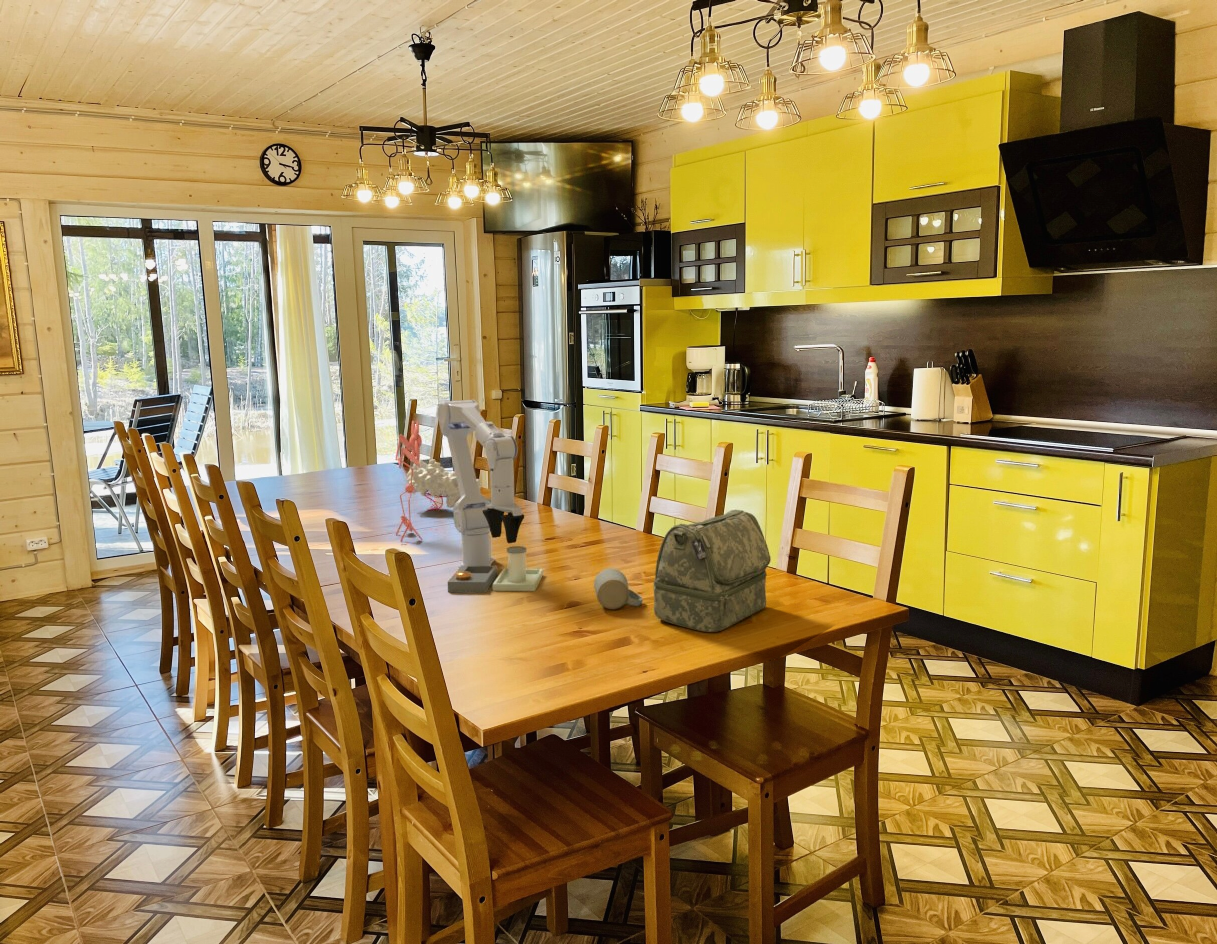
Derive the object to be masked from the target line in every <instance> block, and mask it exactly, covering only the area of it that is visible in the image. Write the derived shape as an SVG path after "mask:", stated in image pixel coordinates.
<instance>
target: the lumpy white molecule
mask: <svg viewBox="0 0 1217 944" xmlns="http://www.w3.org/2000/svg"><path fill="white" fill-rule="evenodd" d="M428 462H429V464H428V463H427V462H424V460H422V459H419V464H420V466H421V467H419V466H417V465H416V464H414V463H413V465H412V467H413V468H412V469H414V470H413V477H412V485H413V486H414V491H413V492H412V494H411V495H415V494H416V493H419V494H420V496H422V497H423V496H424V497H425V498H427V499H429V500H430V501H431V502H433V503H434V504H433V503H432V504H431V505H432V506H430V508H429V509H426V511H429V512H430V511H431V510H432V511H437V510H440V509H441V508H442V507H443V505H444V500H443V498H446V499H445V503H446V507H447V508H450V509H451V508H452V509H453V507H454V505H455V503H456V502H457V501H458V500H459V499H460V498H461V495H460V491H459V486H458V482H457V478H456V474H455V469H454V470H452V471H450V472H449V471H446V469H445V468H444V467H443V466H441V465H442V464H441V462H437V461H436V459H433V458H432V459H430V460H429V461H428ZM412 469H411V468H409V471H408V472H407V473H406V478H407V479H406V482H407V484H408V485H409V484H411V472H412ZM476 480H477V484H478V488H479V493H480V494H482V493H481V488H482V484H481V480H480V479H479V478H476ZM431 497H434V498H436V499H437V498H441V502H438V501H436V500H434V499H432V498H431ZM438 504H440V506H438ZM433 507H434V508H433ZM431 508H433V509H431Z"/></svg>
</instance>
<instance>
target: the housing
mask: <svg viewBox="0 0 1217 944" xmlns="http://www.w3.org/2000/svg"><path fill="white" fill-rule="evenodd" d="M461 571H468V572H471V578H468V580H459V579H457V578H456V573H457V572H461ZM496 576H497V577H498V566H497V565H490V566H465V565H462V566H461V567H460V568H458V569H457V571H456V572H455V573H453V575H452V576H451V578H449V580H448V581H447V592H448V593H486V592H487V591H488V590H487V589H489V588H490V587H489V586H492V585H493V583H494V582H495V580H496V579H497V577H496Z"/></svg>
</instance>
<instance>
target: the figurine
mask: <svg viewBox="0 0 1217 944" xmlns="http://www.w3.org/2000/svg"><path fill="white" fill-rule="evenodd" d="M410 428H411V429H410V434H411V436H410V438H409V440H408V439H407V438H406V437H405V436H404V435H403V434H402V433H401V434H399V436H398V437H399V439H398V443H397V450H396V454H395V461H398V468H399V469H402V464H403V465H405V466H406V467H408V468H409V469H410V468H411V469H412V468H413V466H411V465H409V464H408V463H406V462H405V461H403V457H404V456H406V458H407V459H408V460H410V461H411V462H412V463H413V464H416V465H417V466H419V467H421V466H420V464H419V460H421V459H420V457H421V453H420V452H421V451H420V448H421V446H422V442H423V439H422V436H421V435H420V423H419V421H417V422H416V423H415V421H414V420H412V421H411V427H410ZM401 444H403V446H402V447H401ZM400 450H401V452H400ZM399 452H400V457H399V458H398V456H399ZM413 470H414V469H412V472H411V484H409V483H408V484H407V485H406V486H405V487H404V492H402V493H401V494H399V499H400V504H401V508H402V515H401V516H400V519H401V522H400V524H399V525H398V528H397V531H396V533H395V535H396V536H398V534H399V532H400V529H401V528H402V526H403V525H404V526H405V530H404V532H403V534H402V536H401V538H400V540H399V541H400V542H403V540H404V538H405V536H406V534H407V532H408V530H409V532H411V533H412V532H413V533H415V535H416V536H417V537H418V538H419V539H420V540H421V541H423V539H422V537H421V536H420V534H419V533H418V531H417V530H416V528H414V526H413V524H412V521H411V504H410V503H411V502H410V500H411V497H412V495H413V494H412V492H413V491H414V486H413V485H412V477H413ZM404 494H409V497H408V500H407V501H408V503H407V504H408V517H409V518H408V517H407V516H406V514H405V509H404V505H403V500H402V496H403V495H404ZM423 530H425V528H423ZM429 530H430V531H432V530H433V531H436V532H440V533H443V534H444V531H443V532H442V531H441V530H439V529H432V528H429ZM395 535H394V536H395ZM400 545H401V546H403V545H405V546H407V545H408V544H407V543H401V544H400Z"/></svg>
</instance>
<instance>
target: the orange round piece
mask: <svg viewBox="0 0 1217 944" xmlns="http://www.w3.org/2000/svg"><path fill="white" fill-rule="evenodd" d="M456 572H457V571H456ZM456 572H455V573H456ZM456 578H457V579H459V580H468V578H471V572H468V571H461V572H457V573H456Z"/></svg>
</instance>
